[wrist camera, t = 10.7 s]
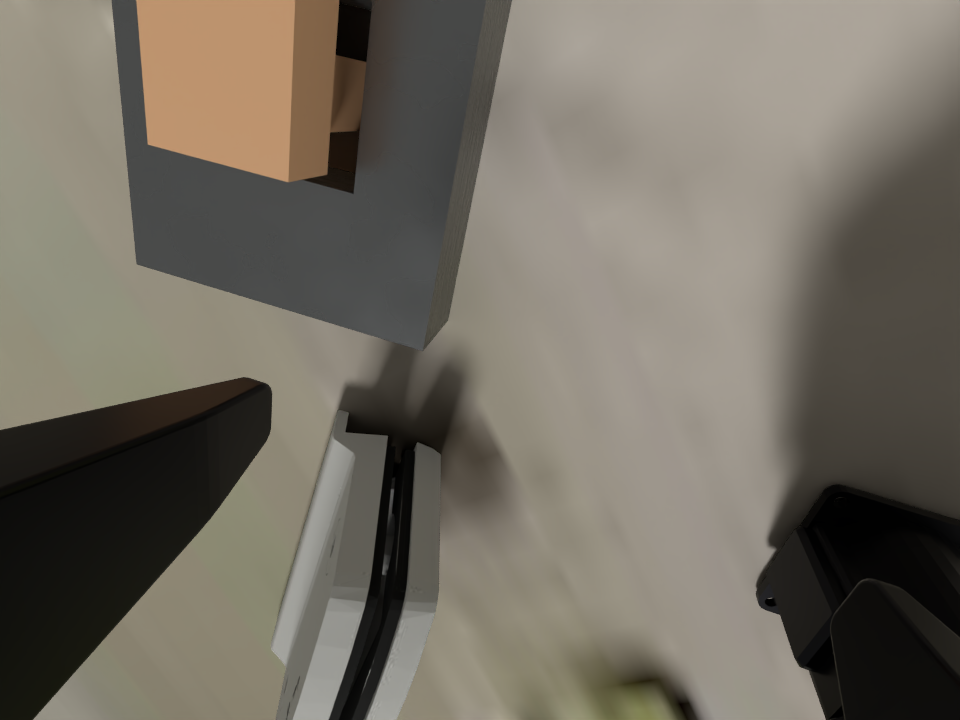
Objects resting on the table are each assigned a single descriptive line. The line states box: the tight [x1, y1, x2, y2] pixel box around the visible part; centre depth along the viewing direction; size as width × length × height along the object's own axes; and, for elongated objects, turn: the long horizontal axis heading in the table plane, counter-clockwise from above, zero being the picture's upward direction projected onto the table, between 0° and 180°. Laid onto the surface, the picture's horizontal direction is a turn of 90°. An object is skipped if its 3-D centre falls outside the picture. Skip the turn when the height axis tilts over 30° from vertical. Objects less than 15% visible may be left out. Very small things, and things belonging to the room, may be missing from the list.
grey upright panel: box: [271, 410, 441, 720], centre depth 23 cm, size 17×5×10 cm, turn 159°
